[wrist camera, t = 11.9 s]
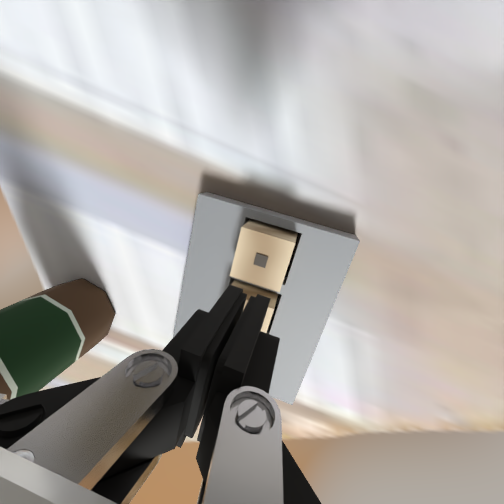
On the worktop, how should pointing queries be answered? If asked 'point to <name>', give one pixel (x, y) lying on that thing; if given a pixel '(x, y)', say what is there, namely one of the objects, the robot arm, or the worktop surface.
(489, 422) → the worktop surface
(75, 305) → the beer bottle
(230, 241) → the board
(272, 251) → the key
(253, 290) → the key
